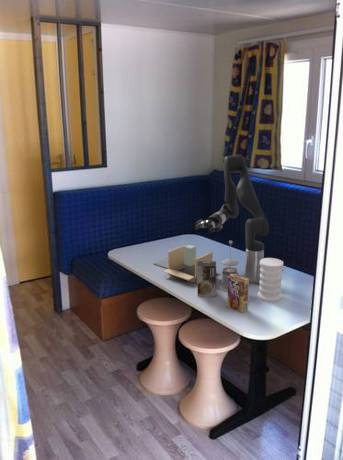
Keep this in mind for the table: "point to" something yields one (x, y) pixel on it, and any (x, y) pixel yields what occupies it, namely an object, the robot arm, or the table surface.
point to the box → (189, 259)
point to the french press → (228, 270)
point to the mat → (162, 263)
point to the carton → (178, 263)
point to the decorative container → (270, 280)
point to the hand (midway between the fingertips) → (202, 229)
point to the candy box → (238, 292)
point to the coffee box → (206, 278)
